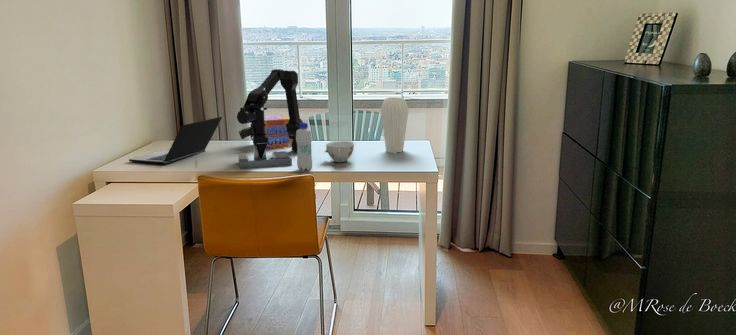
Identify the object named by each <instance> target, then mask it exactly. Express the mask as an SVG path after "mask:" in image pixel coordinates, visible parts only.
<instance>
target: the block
mask: <svg viewBox="0 0 736 335" xmlns="http://www.w3.org/2000/svg"><path fill="white" fill-rule="evenodd" d="M252 149H253V161H254V160H267V150H266V149H265V151H264V154H263V157H262V158H259V154H258V150H257V148H256V147H253V148H252Z"/></svg>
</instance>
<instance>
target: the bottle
mask: <svg viewBox="0 0 736 335" xmlns="http://www.w3.org/2000/svg"><path fill="white" fill-rule="evenodd" d="M308 127H309V125H308V123H307V122H303V123H300V129H299V130H297V131H296V142H297V152H296V154H297V159H296V160H297V161H296V162H297V163H296V165H297V169H298V170H299V171H302V172H305V171H307V172H308V171H310V170H312V168H313V159H312V158H313V156H312V141H313V139H312V138H313V137H312V136H313V135H312V131H311V129H309V128H308ZM305 169H306V170H305Z"/></svg>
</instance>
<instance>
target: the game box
mask: <svg viewBox="0 0 736 335" xmlns="http://www.w3.org/2000/svg"><path fill="white" fill-rule="evenodd" d="M264 119H265V133H266V135H265V136H266V137H267V138H268V144H267V146H266V151H270V150H278V149H277V148H279V149H285V148H284V147H287V148H291V147H290V146H291V142H292V139H289V136H288V132H287V128H286V124H288V122H289V116H288V117H287V116H284V115H267V116H265V115H264Z"/></svg>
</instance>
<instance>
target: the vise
mask: <svg viewBox="0 0 736 335" xmlns="http://www.w3.org/2000/svg"><path fill="white" fill-rule="evenodd" d="M237 158H238V165H239V169H256V168H258V169H260V168H271V167H287V166H289V167H290V166H293V161H292V160H293V159H292V157H290V156H289V158H285V159H273V157H270V158H269V159H266V160H254V159H253V160H249V158H248V154H247V153H238V154H237Z"/></svg>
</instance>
